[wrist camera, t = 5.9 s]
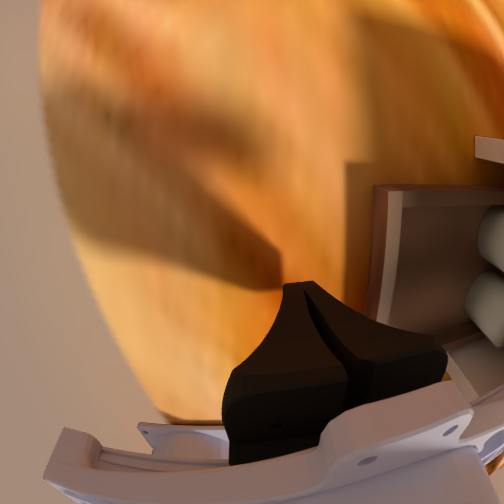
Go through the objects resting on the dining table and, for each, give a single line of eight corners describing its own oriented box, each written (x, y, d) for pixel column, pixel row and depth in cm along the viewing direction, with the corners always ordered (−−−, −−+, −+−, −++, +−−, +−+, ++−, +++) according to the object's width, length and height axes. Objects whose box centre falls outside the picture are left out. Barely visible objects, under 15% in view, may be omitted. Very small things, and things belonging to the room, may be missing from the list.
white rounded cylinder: (488, 312, 15) (515, 340, 11) (457, 320, 15) (486, 352, 11) (503, 268, 13) (535, 292, 10) (473, 272, 13) (508, 300, 10)
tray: (500, 309, 16) (515, 323, 14) (354, 349, 16) (365, 373, 14) (526, 187, 12) (546, 194, 10) (367, 182, 12) (388, 191, 10)
